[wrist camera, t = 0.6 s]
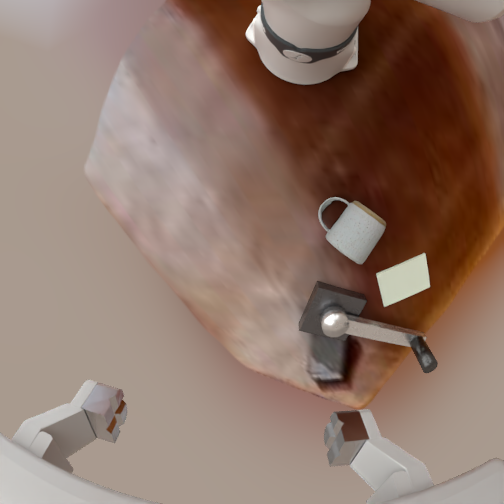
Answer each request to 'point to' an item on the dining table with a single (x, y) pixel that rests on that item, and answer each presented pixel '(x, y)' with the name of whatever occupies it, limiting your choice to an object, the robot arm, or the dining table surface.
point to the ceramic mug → (354, 230)
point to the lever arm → (377, 333)
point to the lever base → (327, 298)
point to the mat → (403, 280)
